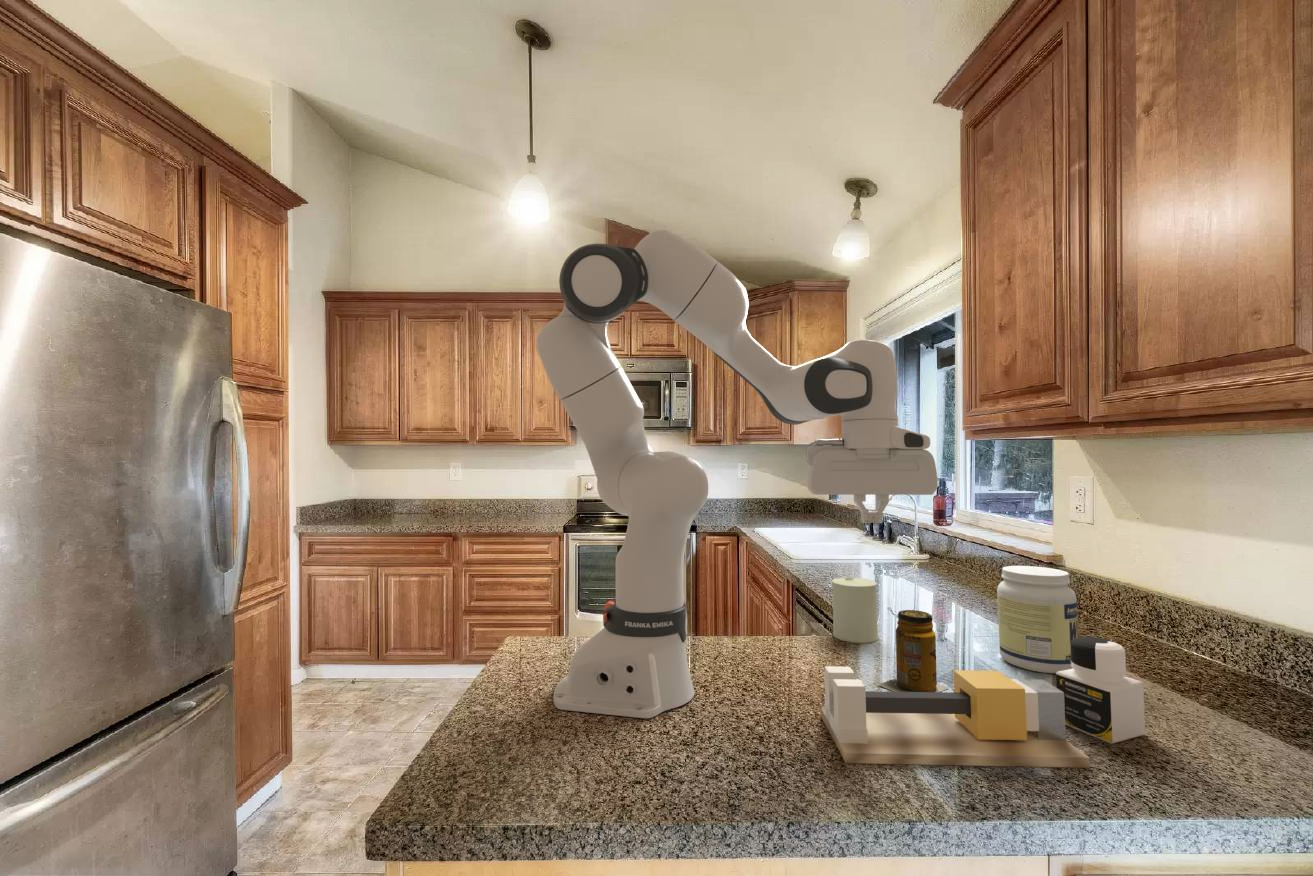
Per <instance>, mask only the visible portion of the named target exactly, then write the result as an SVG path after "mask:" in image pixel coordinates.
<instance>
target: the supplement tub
mask: <svg viewBox="0 0 1313 876" xmlns="http://www.w3.org/2000/svg"><path fill="white" fill-rule="evenodd" d="M1001 572H1002V573H1001V578H1002V579H1003V580H1002V581H1001V582H999V584H998V586H997V588H996V589H997V590H996V594H997V595H996V596H997V616H998V620H997V621H998V639H999V640H998V641H999V643H998V644H999V649H998V650H999V653H1000V657H1001V658H1002V659H1003V660H1004V661H1005V662H1007V663H1009V664H1011V665H1013V666H1015V667H1018V668H1021V669H1024V670H1027V671H1032V672H1036V671H1037V672H1038V673H1043V674H1056V673H1057V672H1058V671H1063V670H1068V669H1073V667H1072V666H1071V645H1070V642H1071V641H1072V640H1073V639H1075V638H1079V627H1078V626H1079V625H1078V607H1077V606H1078V605H1077V602H1078V601H1077V600H1078V599H1077V594H1076V592H1075V591H1074V590H1073V589H1072V588H1071V587H1070V586H1069V584H1071V579H1070V573H1069V572H1068V571H1065V570H1061V569H1057V568H1051V567H1044V566H1035V565H1034V566H1031V565H1008V566H1007V565H1006V566H1003V567H1002V569H1001ZM1037 672H1036V673H1037Z"/></svg>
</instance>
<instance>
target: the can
mask: <svg viewBox="0 0 1313 876" xmlns="http://www.w3.org/2000/svg"><path fill="white" fill-rule="evenodd" d="M831 585H832V588H831V589H832V610H833V611H832V614H833V616H832V617H833V618H832V619H833V622H832V625H833V627H832V630H833V631H832V636H833V637H834V638H835V639H837V640H840V641H843V642H848V643H856V644H869V643H874V642H877V641H878V640H879V638H880V637H879V631H878V629H879V628H878V603H877V601H878V598H877V592H878V591H877V589H878V588H877V587H878V586H877V585H878V583H877V582H876V581H875V580H872V579H867V578H861V577H838V578H834V579H832V580H831Z"/></svg>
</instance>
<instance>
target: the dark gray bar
mask: <svg viewBox="0 0 1313 876" xmlns="http://www.w3.org/2000/svg"><path fill="white" fill-rule="evenodd" d="M865 691H866V690H865ZM833 706H834V697H833ZM866 713H922V714H971V697H970V696H969V695H968V694H967V693H954V692H944V691H941V692H894V691H866Z"/></svg>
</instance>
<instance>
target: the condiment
mask: <svg viewBox="0 0 1313 876" xmlns="http://www.w3.org/2000/svg"><path fill="white" fill-rule="evenodd" d="M897 619H898V620H897V627H896V629H895V654H896V655H895V660H896V661H895V663H896V664H895V665H896V678H893V679H889V680H887V681H883V682H879V683H877V685H878V686H879V687H882V688H884V689H887V690H890V692H944V691H946V690H947V689H949V687H948V686H944V685H940V684H938V683H937V680H938V679H937V646H936V645H937V644H936V640H937V639H936V633H935V631H934V623H933V615H932V614H930V613H929V612H926V611H921V610H916V609H904V610H900V611H898V613H897Z"/></svg>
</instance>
